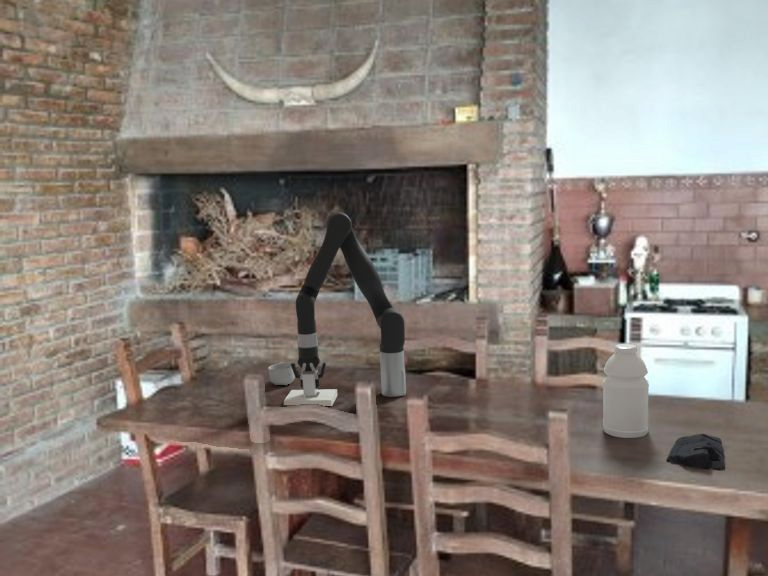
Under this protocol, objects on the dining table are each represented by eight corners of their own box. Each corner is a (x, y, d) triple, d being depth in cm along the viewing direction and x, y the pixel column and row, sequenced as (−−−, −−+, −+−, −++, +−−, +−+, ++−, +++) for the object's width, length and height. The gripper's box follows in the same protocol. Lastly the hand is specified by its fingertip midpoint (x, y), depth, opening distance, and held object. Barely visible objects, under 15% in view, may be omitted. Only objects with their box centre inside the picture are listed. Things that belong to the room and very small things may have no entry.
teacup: (293, 387, 308) (292, 368, 306) (267, 388, 308) (266, 369, 307) (298, 378, 321) (297, 359, 320) (272, 379, 322) (271, 360, 321)
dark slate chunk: (729, 446, 225) (730, 431, 224) (723, 473, 206) (723, 457, 205) (675, 439, 232) (675, 425, 231) (664, 465, 213) (664, 449, 212)
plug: (317, 390, 289) (316, 368, 288) (315, 394, 284) (313, 371, 283) (306, 390, 290) (305, 368, 288) (303, 395, 284) (302, 371, 283)
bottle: (594, 432, 240) (594, 347, 236) (615, 421, 250) (616, 338, 246) (635, 442, 230) (636, 353, 226) (656, 430, 240) (657, 344, 236)
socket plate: (337, 395, 293) (337, 389, 293) (331, 406, 280) (331, 400, 279) (292, 396, 295) (291, 389, 295) (284, 407, 281) (283, 400, 281)
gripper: (328, 341, 287) (330, 385, 290) (291, 342, 288) (294, 385, 291) (324, 346, 280) (327, 390, 282) (287, 347, 281) (289, 391, 284)
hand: (310, 388), depth 287 cm, fingers closed on plug, 4 cm apart
